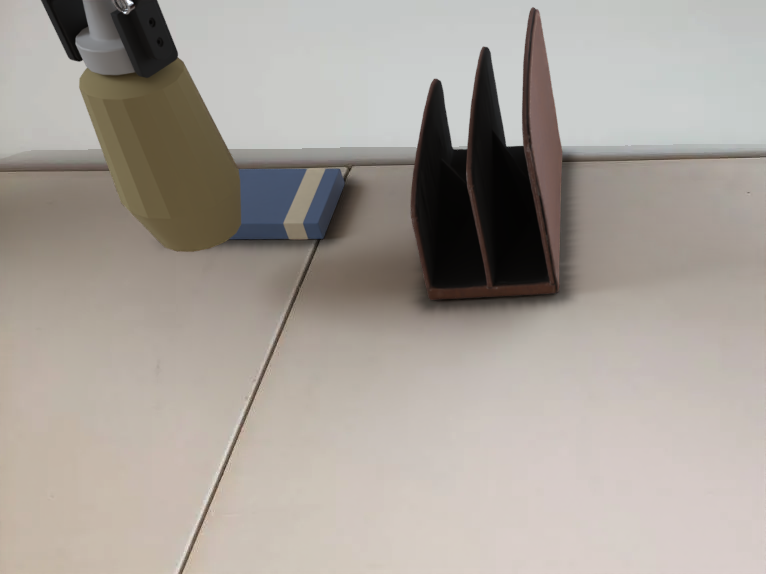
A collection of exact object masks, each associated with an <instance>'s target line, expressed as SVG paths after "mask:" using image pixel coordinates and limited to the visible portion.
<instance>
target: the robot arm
mask: <svg viewBox="0 0 766 574" xmlns="http://www.w3.org/2000/svg"><path fill="white" fill-rule="evenodd" d="M40 1H41V4H42V6H43V8H44V9H45V12H46V15H47V17H48V18H49V20H50V22H51V25H52V27H53V29H54V31H55V33H56V35H57V38H58V39H59V42H60V44H61V45H62V47H63V50H64V53H65V54H66V56H67V57H68V59H69V60H71V61H74V62H78V63H81V62H83V59H82V57H81V55H80V52H79V50H78V48H77V46H76V36H77V35H78V34H79V33H80V32H81V31H82V30H83V29H84V28H86V27H88V22H87V18H86V13H85V9H84V4H83V0H40ZM111 1H112V2H113V4H114V6H115V7H116V8H117V10H115V11H114V12H112V13H110V14H111V17H112V20H113V22H114V25H115V27H116V29H117V32H118V34H119V36H120V38H121V41H122V43H123V45H124V48H125V50H126V52H127V55H128V57H129V59H130V61H131V64H132V66H133V68H134V71H135V72H136V74H137V75H138V76H140V77H145V78H149V77H151V76H152V75H154V74H155V73H157V72H158V71H160V70H161V69H163V68H164V67H166V66H167V65H169V64H171V63H172V62H174V61H175V60H176V59H177V58H179V52H178V49H177V46H176V44H175V41H174V39H173V36H172V34H171V31H170V28H169V26H168V23H167V21H166V18H165V16H164V13H163V11H162V8H161V7H160V4H159V1H158V0H111Z"/></svg>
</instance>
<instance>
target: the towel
mask: <svg viewBox="0 0 766 574" xmlns="http://www.w3.org/2000/svg"><path fill="white" fill-rule="evenodd" d="M238 169H239V175H240V192H241V225H240V227H239V229H238V231H237V233H236V234H235V235H233V236H232V237H231V238H229V239H228V240H323V239H324V238H325V236H326V234H327V231H328V227H329V225H330V222H331V219H332V218H333V215H334V212H335V210H336V208H337V205H338V203H339V200H340V197H341V194H342V192H343V190H344V187H345V184H346V183H345V179H344V176H343V173H342V170H341V168H340V167H339V168H335V167H334V168H326V167H308V168H238Z"/></svg>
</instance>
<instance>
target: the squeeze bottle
mask: <svg viewBox="0 0 766 574" xmlns="http://www.w3.org/2000/svg"><path fill="white" fill-rule="evenodd" d="M83 4H84V9H85V13H86V18H87V22H88V27H86V28H84V29H83V30H82V31H81V32H80V33H79V34H78V35H77V36H76V46H77V48H78V50H79V52H80V55H81V57H82V59H83V60H82V62H83V63H84V64H85V67H86V68H85V69H84V70H83V72H82V73H81V75H80V77H79V80H78V81H79V82H78V89H79V91H80V95H81V97H82V100H83V103H84V106H85V107H86V110H87V113H88V116H89V118H90V119H89V120H90V121H91V125H92V127H93V129H94V130H93V131H94V132H95V135H96V137H97V141H98V143H99V146H100V148H101V152H102V154H103V158H104V160H105V162H106V166H107V168H108V171H109V173H110V177H111V179H112V182H113V184H114V187H115V191H116V192H117V196H118V198H119V201H120V204H121V205H122V206H123V207H124V208H125V209H126V210H127V211H128V212H129V213H130V214H131V215H132V216H133V217H134V219H136V220H137V221H138V222H139V223H140V224H141V225H142V226H143V227H144V228H145V229H146V230H147V231H148V232H149V233H150V234H151V235H152V236H153V237H154V238H155V239H156V240H157V241H158V243H160V245H162V246H163V247H164V248H165V249H167V250H172V251H174V252H181V253H182V252H185V253H195V252H200V251H204V250H210V249H212V248H215V247H217V246H219V245H222V244H223V243H226V242H227V241H229V240H230V239H229V238H231V237H232V236H233V235H235V234H236V233H237V231H238V229H239V227H240V225H241V192H240V175H239V169H240V168H238V165H237V163H236V162H235V161H236V160H235V159H234V158H233V155H232V153H231V152H230V149H229V148H228V145H227V144H226V142H225V140H224V138H223V136H222V134H221V132H220V130H219V128H218V127H217V124H216V122H215V121H214V119H213V117H212V115H211V112H210V111H209V109H208V107H207V105H206V103H205V101H204V99H203V97H202V94H201V93H200V91H199V90H198V88H197V85H196V84H195V81H194V80H193V78H192V76H191V74H190V72H189V70H188V68H187V66H186V64H185V62H184V61H183V60H182V59H181V58H179V57H178V58H177V59H176V60H175V61H174V62H172V63H171V64H169V65H167V66H166V67H164V68H163V69H161V70H160V71H158V72H157V73H155V74H154V75H152V76H151V77H149V78H145V77H140V76H138V75H137V74H136V72H135V71H134V68H133V66H132V64H131V61H130V59H129V57H128V55H127V52H126V50H125V48H124V45H123V43H122V41H121V38H120V36H119V34H118V32H117V29H116V27H115V25H114V22H113V20H112V17H111V14H110V13H112V12H114V11H115V10H117V8H116V7H115V6H114V4H113V2H112V1H111V0H83Z"/></svg>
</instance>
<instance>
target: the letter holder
mask: <svg viewBox="0 0 766 574" xmlns="http://www.w3.org/2000/svg"><path fill="white" fill-rule="evenodd" d="M543 30H544V29H543V23H542V18H541V12H540V10H539V9H538V8H536V7H534V6H532V7H531V8H530V10H529V13H528V18H527V23H526V32H525V39H524V50H523V51H524V52H523V62H522V88H521V89H522V90H521V91H522V97H521V98H522V99H521V131H522V145H513V146H507V141H506V134H505V128H504V124H503V118H502V113H501V112H502V111H501V108H500V107H501V106H500V101H499V95H498V89H497V83H496V78H495V72H494V67H493V66H494V65H493V60H492V52H491V50H490V48H489V47H488V46H482V48H481V49H480V51H479V56H478V59H477V65H476V69H475V75H474V82H473V89H472V96H471V101H470V109H469V110H470V111H469V123H468V134H467V135H468V136H467V146H466V148H459V149H455V148H453V143H452V136H451V132H450V131H451V130H450V126H449V121H448V114H447V109H446V102H445V93H444V87H443V83H442V80H440V79H438V78H433V79H432V80H431V82H430V85H429V88H428V92H427V96H426V100H425V104H424V109H423V113H422V119H421V124H420V130H419V135H418V140H417V144H416V145H417V146H416V151H415V157H414V164H413V170H412V179H411V187H410V188H411V189H410V219H411V226H412V229H413V233H414V238H415V243H416V248H417V253H418V257H419V262H420V266H421V271H422V275H423V281H424V285H425V289H426V295H427V298H428V299H429V300H430V301H437V300H440V301H441V300H457V299H462V300H463V299H478V298H479V299H481V298H497V297H499V298H500V297H516V296H517V297H519V296H534V295H536V296H537V295H554V294H555V295H556V294H558V292H560V253H561V252H560V251H561V249H560V248H561V247H560V246H561V215H562V214H561V212H562V211H561V207H562V170H563V168H562V166H563V147H562V146H563V145H562V142H561V141H562V140H561V137H560V136H561V135H560V131H559V123H558V117H557V108H556V103H555V97H554V91H553V85H552V78H551V71H550V65H549V59H548V52H547V48H546V41H545V37H544V31H543Z"/></svg>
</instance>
